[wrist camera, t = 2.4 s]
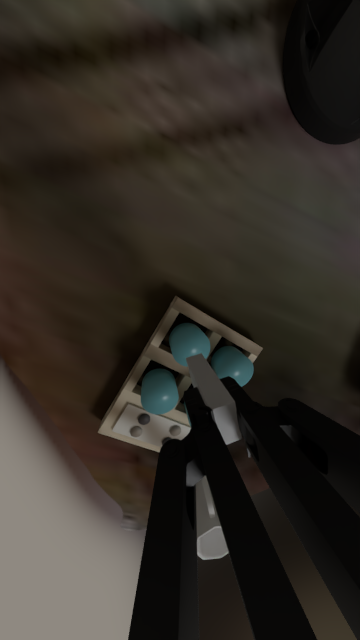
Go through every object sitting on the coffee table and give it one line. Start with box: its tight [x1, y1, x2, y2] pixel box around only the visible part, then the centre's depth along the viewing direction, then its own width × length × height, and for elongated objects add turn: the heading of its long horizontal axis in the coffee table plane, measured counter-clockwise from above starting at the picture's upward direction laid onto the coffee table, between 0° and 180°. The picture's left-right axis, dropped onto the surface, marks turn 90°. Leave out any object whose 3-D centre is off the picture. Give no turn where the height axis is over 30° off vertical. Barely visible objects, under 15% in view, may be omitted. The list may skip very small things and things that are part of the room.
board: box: [98, 296, 263, 452], centre depth 25 cm, size 21×14×2 cm, turn 148°
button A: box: [169, 323, 210, 367], centre depth 21 cm, size 4×4×3 cm
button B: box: [211, 346, 254, 386], centre depth 23 cm, size 4×4×3 cm
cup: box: [196, 475, 229, 560], centre depth 28 cm, size 7×10×8 cm
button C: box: [141, 369, 179, 415], centre depth 22 cm, size 4×4×3 cm
